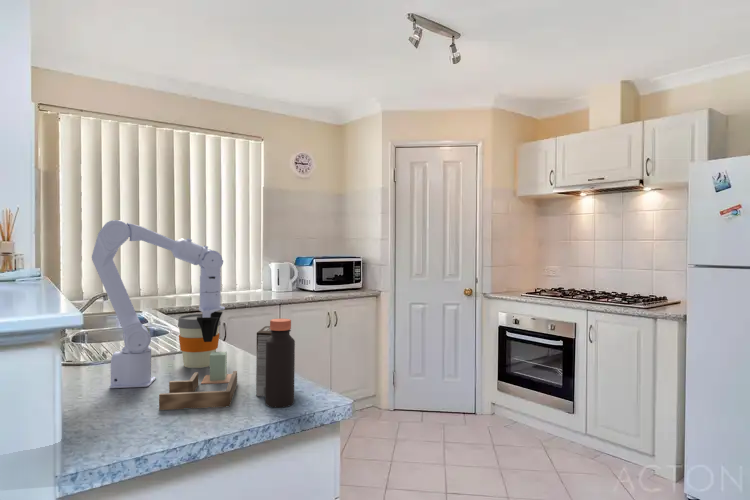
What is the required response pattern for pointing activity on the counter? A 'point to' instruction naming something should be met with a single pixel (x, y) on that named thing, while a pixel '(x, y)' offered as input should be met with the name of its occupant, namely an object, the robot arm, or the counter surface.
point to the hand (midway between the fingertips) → (209, 338)
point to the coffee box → (261, 360)
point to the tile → (207, 380)
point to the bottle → (280, 365)
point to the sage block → (218, 366)
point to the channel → (196, 395)
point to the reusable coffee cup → (195, 342)
